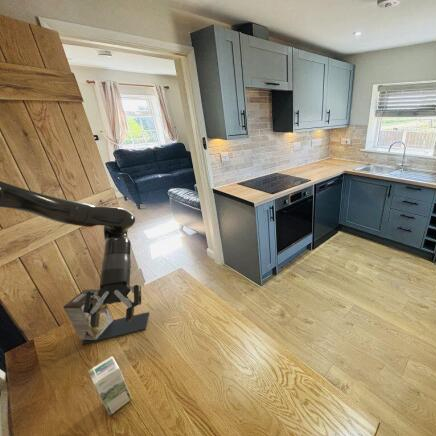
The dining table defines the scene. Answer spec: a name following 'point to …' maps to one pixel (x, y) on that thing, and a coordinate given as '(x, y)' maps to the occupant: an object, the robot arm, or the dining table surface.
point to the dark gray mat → (122, 328)
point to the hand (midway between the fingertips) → (112, 324)
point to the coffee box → (86, 317)
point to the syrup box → (110, 385)
